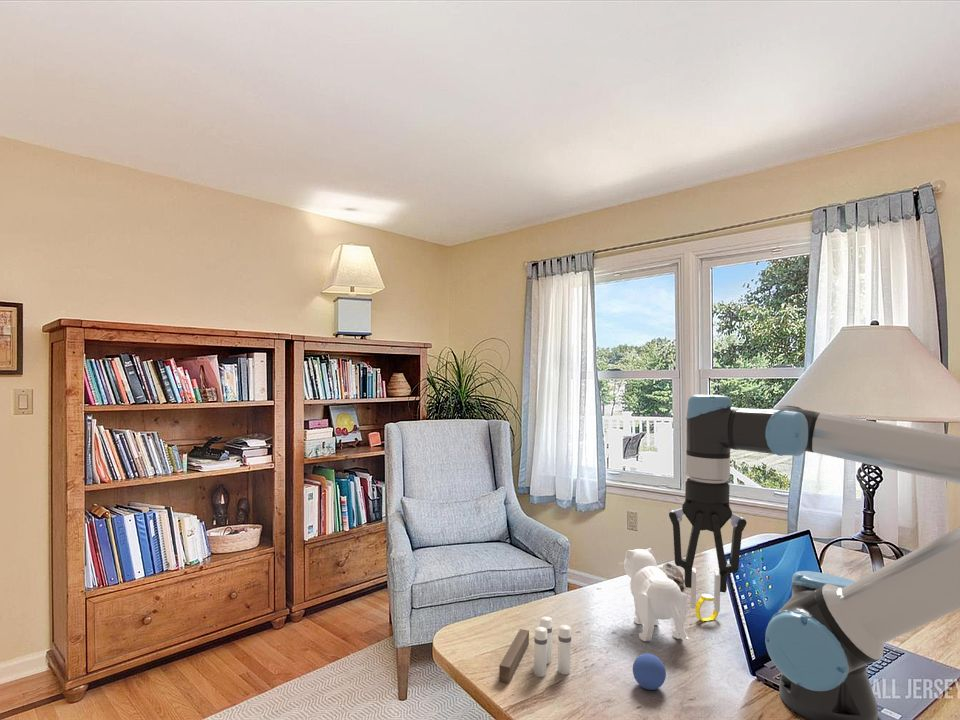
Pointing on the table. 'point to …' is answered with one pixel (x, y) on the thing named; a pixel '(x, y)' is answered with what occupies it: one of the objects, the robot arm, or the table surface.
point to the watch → (697, 610)
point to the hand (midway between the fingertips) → (704, 606)
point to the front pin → (564, 649)
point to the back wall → (513, 656)
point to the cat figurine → (654, 594)
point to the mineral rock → (673, 574)
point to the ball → (649, 671)
